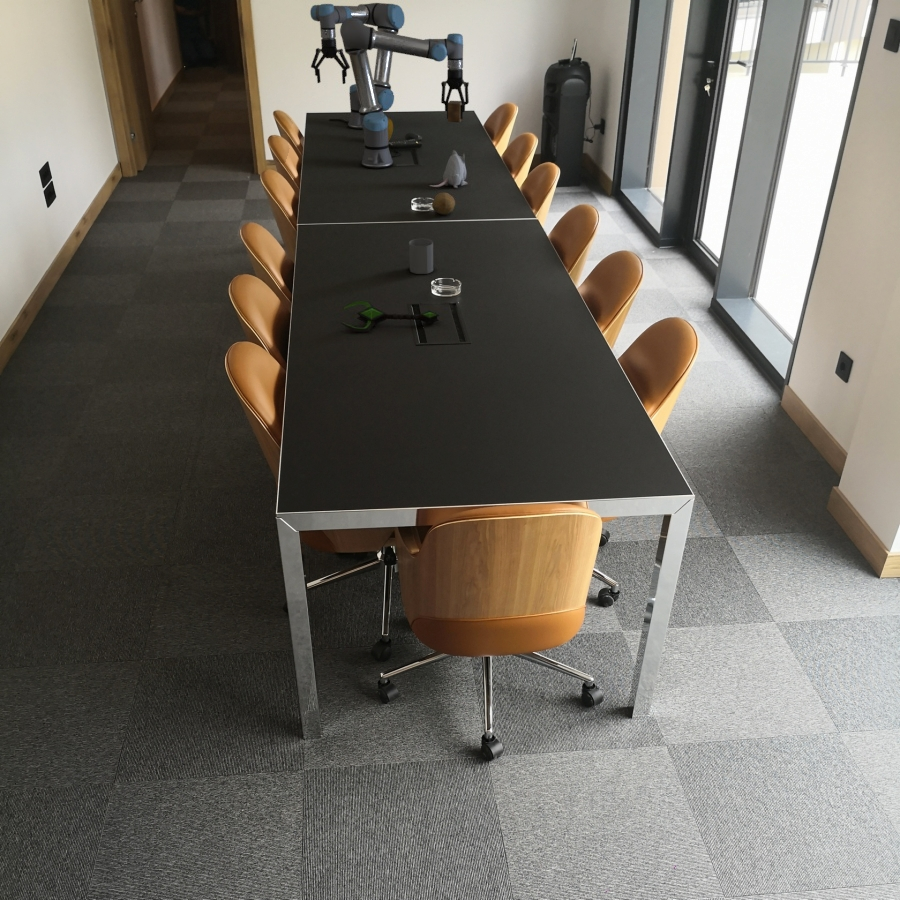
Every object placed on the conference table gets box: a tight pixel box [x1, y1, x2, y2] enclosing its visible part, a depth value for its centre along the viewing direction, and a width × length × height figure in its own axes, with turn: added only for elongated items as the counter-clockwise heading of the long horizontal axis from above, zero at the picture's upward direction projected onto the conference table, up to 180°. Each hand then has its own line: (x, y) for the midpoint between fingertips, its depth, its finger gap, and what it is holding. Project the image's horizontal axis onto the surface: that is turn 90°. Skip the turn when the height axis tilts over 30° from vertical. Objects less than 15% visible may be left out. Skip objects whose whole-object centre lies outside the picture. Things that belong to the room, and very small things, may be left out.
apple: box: [387, 117, 394, 142], centre depth 463 cm, size 11×11×13 cm
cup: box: [408, 237, 434, 275], centre depth 305 cm, size 8×8×10 cm
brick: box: [447, 100, 462, 123], centre depth 433 cm, size 6×7×9 cm
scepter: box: [341, 300, 440, 333], centre depth 268 cm, size 6×13×30 cm
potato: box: [431, 192, 456, 216], centre depth 360 cm, size 10×14×8 cm
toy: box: [428, 149, 468, 189], centre depth 390 cm, size 9×24×15 cm, turn 137°
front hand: (454, 118), depth 434 cm, fingers closed on brick, 6 cm apart
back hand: (331, 83), depth 451 cm, fingers open, 13 cm apart
